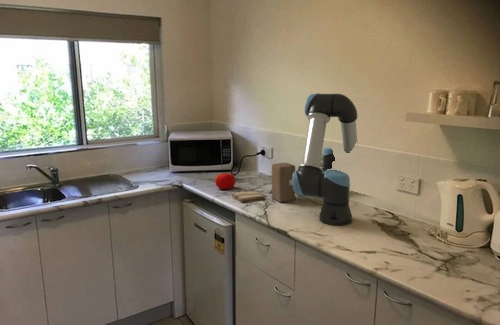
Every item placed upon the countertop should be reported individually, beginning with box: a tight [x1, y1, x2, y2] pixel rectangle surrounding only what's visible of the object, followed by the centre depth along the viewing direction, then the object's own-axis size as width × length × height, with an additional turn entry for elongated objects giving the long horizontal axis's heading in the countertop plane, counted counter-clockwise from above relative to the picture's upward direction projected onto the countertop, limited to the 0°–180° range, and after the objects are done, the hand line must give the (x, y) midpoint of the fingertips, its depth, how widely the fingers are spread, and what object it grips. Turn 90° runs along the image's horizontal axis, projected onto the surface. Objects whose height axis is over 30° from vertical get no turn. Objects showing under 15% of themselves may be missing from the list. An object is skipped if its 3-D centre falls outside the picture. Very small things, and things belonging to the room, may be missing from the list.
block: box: [271, 162, 296, 203], centre depth 214 cm, size 10×10×20 cm
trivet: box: [231, 190, 266, 204], centre depth 220 cm, size 14×14×2 cm
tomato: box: [214, 172, 236, 190], centre depth 239 cm, size 11×13×10 cm
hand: (283, 179), depth 215 cm, fingers open, 13 cm apart
